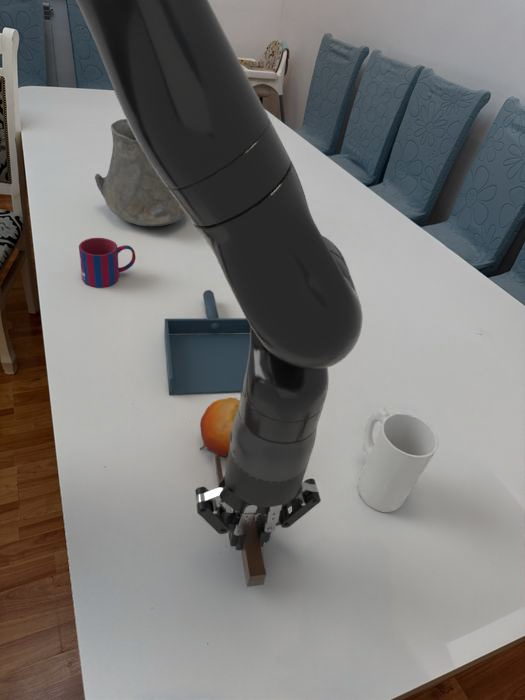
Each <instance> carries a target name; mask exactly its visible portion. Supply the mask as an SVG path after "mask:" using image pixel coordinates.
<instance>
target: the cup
mask: <svg viewBox="0 0 525 700" xmlns="http://www.w3.org/2000/svg"><path fill="white" fill-rule="evenodd" d="M124 250H129V251H131V254H132V255H131V259H130V261H129V263H127V264H126V265H124V266H121V267H119V253H121V252H122V251H124ZM78 251H79V261H80V263H79V264H80V272H81V280H82V281H83V283H84V284H86V285H88V286H90V287H93V288H108V287H111V286H113V285H116V283H118V281H119V280H120V273H123V272H126V271H127V270H129V269H131V267H133V266H134V264H135V261H136V251H135V250H134V248H133V247H132V246H131V245H127V244H125V245H120V246H118V244H117V243H116V242H115V241H114V240H112V239H110V238H106V237H90V238H87V239H84V240H82V241H81V242H80V243H79V245H78Z"/></svg>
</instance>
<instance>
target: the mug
mask: <svg viewBox="0 0 525 700" xmlns="http://www.w3.org/2000/svg"><path fill="white" fill-rule="evenodd" d="M377 422H379V423H381V426H380V428H379V430H378V433H377V435H376V438H375V440H374V437H373V434H374V428H375V426H376V423H377ZM438 439H439V438H438V436H437V433H436V432H435V430H434V428H432V427H431V425H429V423H427V422H426V421H425V420H424V419H422V418H421V417H418V416H416V415H415V414H410V413H406V412H395V413H392V414H390V413H389V411H388V410H387V409H386V407H385V406H381V407H379V408H378V409H377V410H376V411H374V412H373V413H372V414H371V415H370V416H369V418H368V419H367V421H366V424H365V427H364V434H363V442H362V451H363V452H364V454H365V455H366V457H367V459H366V462H365V465H364V467H363V469H362V472H361V474H360V477H359V480H358V483H357V490H358V494H359V497H360V498H361V500H362V501H363V502H364V503H365V504H366V505H367V506H369V508H372V509H373V510H376V511H378V512H381V513H392V512H395V511H397V510H399V509H400V508H401V507H402V506H403V504H404V503H405V501H406V500H407V498H408V497H409V495H410V493H411V491H412V490H413V488H414V486H415V485H416V483H417V482H418V480H419V478H421V476H422V473H423V472H424V471H425V469H426V467H427V466H428V465H429V462H430V461H431V459H432V458H433V456H434V454H435V452H436V451H437V450H438V447H439V440H438Z"/></svg>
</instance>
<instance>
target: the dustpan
mask: <svg viewBox="0 0 525 700" xmlns="http://www.w3.org/2000/svg"><path fill="white" fill-rule="evenodd" d="M202 297H203V303H204V308H205V314H206V318H203V317H202V318H201V317H200V318H164V325H163V326H164V327H163V328H164V329H163V330H164V331H163V334H164V349H165V360H166V361H165V362H166V373H167V374H166V375H167V386H168V387H167V389H168V395H169V396H179V395H180V396H181V395H203V394H207V395H208V394H227V393H232V394H233V393H241V390H242V384H243V379H244V374H245V371H246V367H247V362H248V356H249V349H250V327H251V326H250V324H249V322H248V321H247V319H246V317H239V318H238V317H237V318H234V317H233V318H231V317H230V318H227V317H226V318H225V317H223V318H222V317H221V318H220V317H219V313H218V308H217V303H216V298H215V294H214V292H213V291H212V290H210V289H207V290H205V291H204V292H203V294H202Z"/></svg>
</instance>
